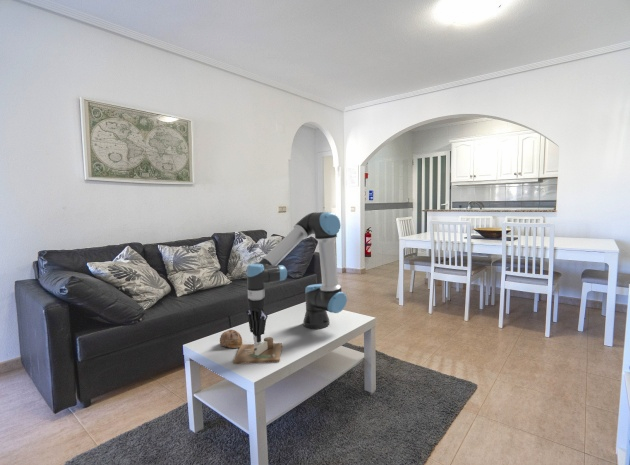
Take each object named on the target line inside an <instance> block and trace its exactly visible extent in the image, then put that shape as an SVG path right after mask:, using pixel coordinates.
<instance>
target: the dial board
mask: <svg viewBox="0 0 630 465" xmlns="http://www.w3.org/2000/svg"><path fill="white" fill-rule="evenodd" d="M282 349H283V343H282V342H273V348H272V349H267V350H265V351H264V352H262V353H261V354H260V355H258V356H257V355H255V351H254V343H250V344H243V345H241V346H240V347H238V350H237V353H236V355H235V357H234V359H233V362H232V363H233V365H242V364H243V365H244V364H264V363H265V364H266V363H279V362H280V361H281V360H280V359H281V354H282Z"/></svg>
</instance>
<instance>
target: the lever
mask: <svg viewBox="0 0 630 465" xmlns="http://www.w3.org/2000/svg"><path fill="white" fill-rule="evenodd" d="M273 343H274V337H270V336H269V337H265V338H263V341H261V343H260V344H259V345H257V346H256V347H255V349H254V351H255V355H257V356H258V355H260V354H261V353H262V352H264V351H265V350H267V349H272V348H273Z"/></svg>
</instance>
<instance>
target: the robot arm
mask: <svg viewBox="0 0 630 465" xmlns="http://www.w3.org/2000/svg"><path fill="white" fill-rule="evenodd" d="M341 225H342V224H341V221H340V218H339V216H338V215H336V213H334V212H331V211H330V212H329V211H323V212H315V211H314V212H310V213H308V214H306V215H305V216H303V217H302V218H301V219H300V220H298V221H297V222H296V224H295V223H294V226H293V229H291V231H290V232H288V234H287V235H286V236H285V237H283V238H282V239H281V240H280V241H279V242H278V243H277V244H276V245H275V246H274V247H273V248H272V249H271V250H270V251H269V252H268V253H267V254H266V255H265V256H264V257H263V258H262V259H260V260H259V261H258V262H253V263H251V264H248V266H247V268H246V282H247V285H246V287H247V307H248V308H249V310H246V311H245V313H246V316H247V321H248V327H249V331H250V333H252V336H253V344H254V349H255V347H256V346H257V345H259V344H260V343H262V335H265V330H266V323H267V319H268V317H269V316H268V314H265V312H264V307H265V304H266V303H265V302H266V301H265V300H266V299H265V294H266V293H265V284H271V283H277V282H278V283H279V282H282V281H285V280H287V277H288V269H287V268H286V266H285V265H283V264H279V263H281V261H283V260H284V259H285V258H286V256H288V254H290V252H291V251H293V249H295V247H297V245H299V244H300V243H301V241H303V240H304V239H307V238H308V237H310V236H311V235H314V238H315V240H316V241H317V242H318V250H319V252H318V253H319V263H320V273H321V283H316V284H315V283H314V284H310V285H307V286H306V287H305V292H304V294H305V295H304V296H305V298H304V299H305V312H304V313H305V314H304V318H303V321H302V322H303V324H302V325H303V326H304V327H305V328H307V329H318V328H319V329H323V328H326V327H328V325H329V326H330V317H329V316H328V312H329V313H332V314H339V313H341V312H342V311H343V310H344V309H345V307H346V305H347V302H348V301H347V300H348V298H347V295H346V294H345V293H344V292H343V291H342V285H341V284H340V283H339V279H338V277H339V276H338V267H337V265H338V264H337V256H336V254H337V253H336V242H335V239H336V238H338V233H339V231H340V230H341Z"/></svg>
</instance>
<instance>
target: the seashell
mask: <svg viewBox="0 0 630 465" xmlns="http://www.w3.org/2000/svg"><path fill="white" fill-rule="evenodd" d="M219 343H220V346H222V347H226V348H233V349H234V348H238V349H239V348H240V346H241V345H244V343H243V338H242V336H241V333H239V332H238V331H237V330H235V329H228V330H225V331H223V333H221V335H220V337H219Z"/></svg>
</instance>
